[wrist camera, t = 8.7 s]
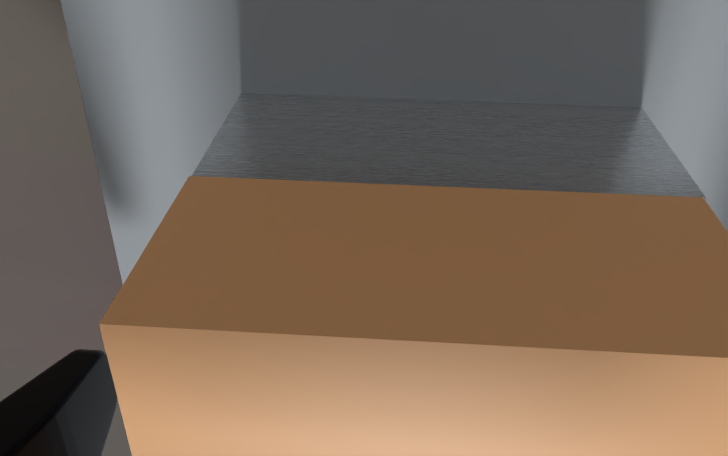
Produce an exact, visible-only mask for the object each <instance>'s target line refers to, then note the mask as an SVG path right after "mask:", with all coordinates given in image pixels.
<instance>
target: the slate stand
mask: <svg viewBox="0 0 728 456" xmlns="http://www.w3.org/2000/svg"><path fill="white" fill-rule="evenodd" d="M61 5H62V9H63V14H64V18H65V23H66V28H67V32H68V37H69V41H70V46H71V50H72V55H73V59H74V64H75V69H76V73H77V78H78V82H79V87H80V91H81V96H82V100H83V105H84V110H85V114H86V119H87V123H88V128H89V132H90V137H91V141H92V146H93V151H94V155H95V160H96V164H97V169H98V173H99V178H100V182H101V187H102V192H103V196H104V201H105V205H106V210H107V214H108V219H109V223H110V228H111V233H112V237H113V242H114V246H115V251H116V255H117V260H118V264H119V269H120V274H121V278H122V283H123V284H124V282H125V281H126V279H127V277H128V276H129V274H130V272H131V271H132V269H133V267H134V266H135V264H136V262H137V261H138V259H139V258H140V256H141V254H142V253H143V251H144V249H145V248H146V246H147V244H148V243H149V241H150V239H151V238H152V236H153V234H154V233H155V231H156V230H157V228H158V226H159V225H160V223H161V221H162V220H163V218H164V216H165V215H166V213H167V211H168V210H169V208H170V207H171V205H172V203H173V202H174V200H175V198H176V197H177V195H178V193H179V192H180V190H181V188H182V187H183V185H184V183H185V182H186V180H187V179H188V177H189V176H192V174H193V172H194V171H195V169H196V167H197V166H198V164H199V162H200V161H201V159H202V157H203V156H204V154H205V152H206V151H207V149H208V147H209V146H210V144H211V142H212V141H213V139H214V137H215V136H216V134H217V132H218V131H219V129H220V128H221V126H222V124H223V123H224V121H225V119H226V118H227V116H228V114H229V113H230V111H231V109H232V108H233V106H234V104H235V103H236V101H237V99H238V98H239V96H240V94H241V93H264V94H292V95H320V96H348V97H377V98H405V99H433V100H461V101H490V102H518V103H546V104H574V105H602V106H631V107H642V108H643V110H644V111H645V113H646V114H647V115H648V117H649V118H650V120H651V121H652V122H653V124H654V125H655V127H656V128H657V129H658V131H659V132H660V134H661V135H662V136H663V138H664V139H665V141H666V142H667V143H668V145H669V146H670V148H671V149H672V150H673V152H674V153H675V155H676V156H677V157H678V159H679V160H680V162H681V163H682V164H683V166H684V167H685V169H686V170H687V171H688V173H689V174H690V176H691V177H692V178H693V180H694V181H695V183H696V184H697V185H698V187H699V188H700V190H701V191H702V192H703V194H704V195H705V197H706V199H705V201H706V202H707V204H708V205H709V206H710V208H711V209H712V211H713V212H714V214H715V215H716V216H717V218H718V219H719V221H720V222H721V223H722V225H723V226H724V228H725V229H726V231H727V232H728V0H61Z"/></svg>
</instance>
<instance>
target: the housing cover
mask: <svg viewBox="0 0 728 456" xmlns="http://www.w3.org/2000/svg"><path fill="white" fill-rule="evenodd" d="M99 326H100V330H101V334H102V338H103V342H104V346H105V350H106V354H107V358H108V362H109V366H110V370H111V374H112V378H113V382H114V386H115V390H116V394H117V398H118V402H119V406H120V410H121V414H122V418H123V422H124V426H125V429H126V433H127V437H128V441H129V445H130V449H131V453H132V456H728V232H727V231H726V229H725V228H724V226H723V225H722V223H721V222H720V221H719V219H718V218H717V216H716V215H715V214H714V212H713V211H712V209H711V208H710V206H709V205H708V204H707V202H706V201H705V199H704V198H698V197H674V196H651V195H627V194H603V193H579V192H555V191H531V190H507V189H484V188H460V187H436V186H412V185H388V184H364V183H341V182H317V181H293V180H269V179H245V178H221V177H198V176H189V177H188V179H187V180H186V182H185V183H184V185H183V187H182V188H181V190H180V192H179V193H178V195H177V197H176V198H175V200H174V202H173V203H172V205H171V207H170V208H169V210H168V211H167V213H166V215H165V216H164V218H163V220H162V221H161V223H160V225H159V226H158V228H157V230H156V231H155V233H154V234H153V236H152V238H151V239H150V241H149V243H148V244H147V246H146V248H145V249H144V251H143V253H142V254H141V256H140V258H139V259H138V261H137V262H136V264H135V266H134V267H133V269H132V271H131V272H130V274H129V276H128V277H127V279H126V281H125V282H124V284H123V285H122V287H121V289H120V290H119V292H118V294H117V295H116V297H115V299H114V300H113V302H112V304H111V305H110V307H109V308H108V310H107V312H106V313H105V315H104V317H103V318H102V320H101V322H100V323H99Z"/></svg>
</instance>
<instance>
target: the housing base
mask: <svg viewBox="0 0 728 456" xmlns="http://www.w3.org/2000/svg"><path fill="white" fill-rule="evenodd" d="M192 176H198V177H221V178H245V179H269V180H293V181H317V182H341V183H364V184H388V185H412V186H436V187H460V188H484V189H507V190H531V191H555V192H579V193H603V194H627V195H651V196H674V197H698V198H704V199H706V197H705V195H704V194H703V192H702V191H701V190H700V188H699V187H698V185H697V184H696V183H695V181H694V180H693V178H692V177H691V176H690V174H689V173H688V171H687V170H686V169H685V167H684V166H683V164H682V163H681V162H680V160H679V159H678V157H677V156H676V155H675V153H674V152H673V150H672V149H671V148H670V146H669V145H668V143H667V142H666V141H665V139H664V138H663V136H662V135H661V134H660V132H659V131H658V129H657V128H656V127H655V125H654V124H653V122H652V121H651V120H650V118H649V117H648V115H647V114H646V113H645V111H644V110H643V108H642V107H631V106H602V105H574V104H546V103H518V102H490V101H461V100H433V99H405V98H377V97H348V96H320V95H292V94H264V93H241V94H240V96H239V98H238V99H237V101H236V103H235V104H234V106H233V108H232V109H231V111H230V113H229V114H228V116H227V118H226V119H225V121H224V123H223V124H222V126H221V128H220V129H219V131H218V132H217V134H216V136H215V137H214V139H213V141H212V142H211V144H210V146H209V147H208V149H207V151H206V152H205V154H204V156H203V157H202V159H201V161H200V162H199V164H198V166H197V167H196V169H195V171H194V172H193V174H192Z"/></svg>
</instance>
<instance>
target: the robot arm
mask: <svg viewBox="0 0 728 456" xmlns="http://www.w3.org/2000/svg"><path fill="white" fill-rule="evenodd" d="M116 405H117V394H116V390H115V386H114V382H113V378H112V374H111V370H110V366H109V362H108V358H107V354H106V353H105V352H103V351H100V350H83V349H79V350H75V351H73V352H71V353H70V354H68V355H67V356H65V357H64V358H62V359H61V360H59V361H58V362H57V363H55V364H54V365H52V366H51V367H49V368H48V369H47V370H45V371H44V372H42V373H41V374H39V375H38V376H37V377H35V378H34V379H32V380H31V381H29V382H28V383H26V384H25V385H24V386H22V387H21V388H19V389H18V390H16V391H15V392H14V393H12V394H11V395H9V396H8V397H6V398H5V399H3V400H2V401H1V402H0V456H101V455H102V452H103V449H104V445H105V442H106V439H107V436H108V432H109V429H110V426H111V423H112V419H113V416H114V413H115V409H116Z"/></svg>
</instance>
